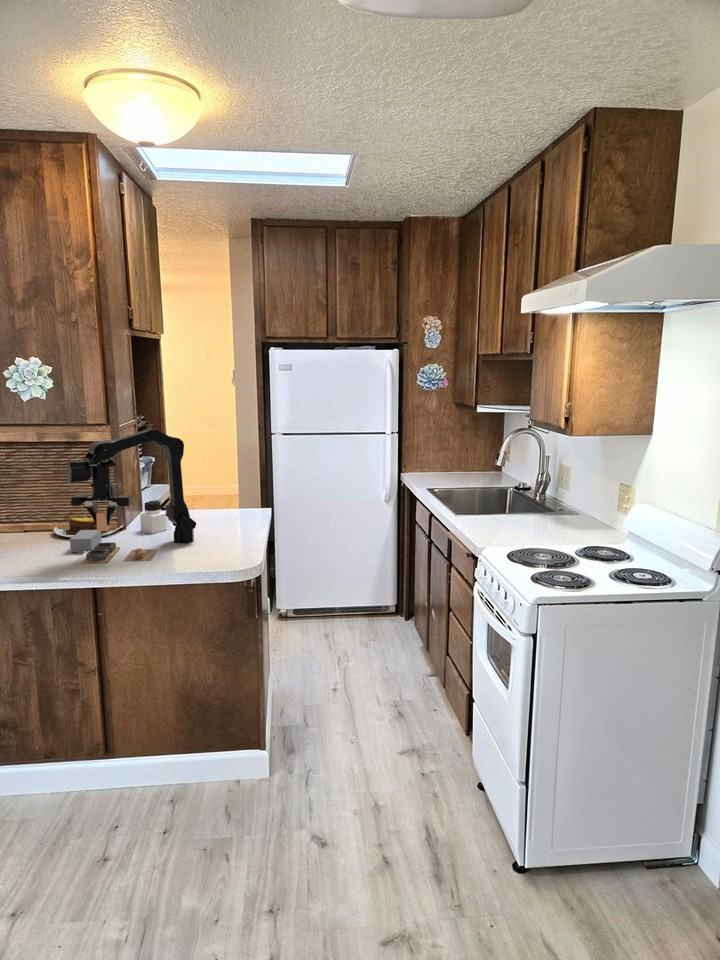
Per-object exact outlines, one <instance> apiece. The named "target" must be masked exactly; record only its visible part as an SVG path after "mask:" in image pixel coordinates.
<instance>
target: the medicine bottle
mask: <svg viewBox="0 0 720 960" xmlns="http://www.w3.org/2000/svg"><path fill="white" fill-rule="evenodd" d="M161 504H162V503H161V501H160V500H155V499H154V500H153V499H152V500H147V501H145V502H144V512H142V513H139V517H140V521H139V522H140V530H141V531H140V532H145V533H149V534H157V533H161V532H163V531H167V528H168V527H167V525H168V524H167V516H166V512H163V511H162V505H161Z"/></svg>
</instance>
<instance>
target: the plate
mask: <svg viewBox="0 0 720 960" xmlns="http://www.w3.org/2000/svg"><path fill="white" fill-rule="evenodd" d="M158 551H159V549H158V548H157V549H155V548H154V549H153V548H152V549H148V548H147V549H143V548H136V549H131V550H130V552H129V553H128V554H127V555H126V557H124V560H123V562H151V561H152V560H153V558H154V557H155V555H156V554H157V552H158Z"/></svg>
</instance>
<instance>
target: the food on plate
mask: <svg viewBox="0 0 720 960" xmlns="http://www.w3.org/2000/svg"><path fill="white" fill-rule="evenodd" d="M73 517H74V516H72V517H70V518H69V520H68V521H69V526H70V529H69V530H65V529H64V530H65V531H64V530H63V529H58V528H57V527H56V526H54V528H53V529H52V533H55V534H56V535H57V536H62V537H67V538H69V539H71V538H72V537H70V536H67V535H76V534H77V533H78V532H79V531H81V530H97V525H96V523H95V521H94V519H92V518H88V517H87V516H83V517H84V518H73ZM123 526H124V527H125V524H124V525H122V526H120V527H119V528H117V529H115V530H113V531H110V530H111V526H110V529H109V530H108V531H101V537H103V536H108V535H111V534H112V533H114V532H116V531H118V530H119V529H121V528H124V527H123ZM65 532H66V534H65ZM106 532H109V533H107V534H103V533H106Z"/></svg>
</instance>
